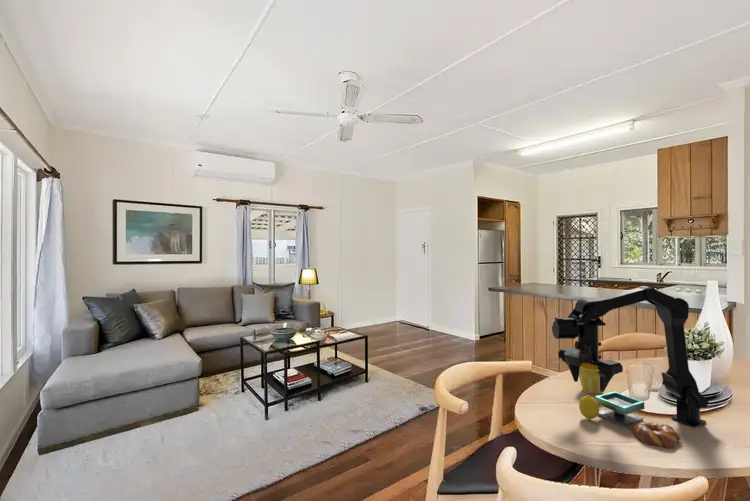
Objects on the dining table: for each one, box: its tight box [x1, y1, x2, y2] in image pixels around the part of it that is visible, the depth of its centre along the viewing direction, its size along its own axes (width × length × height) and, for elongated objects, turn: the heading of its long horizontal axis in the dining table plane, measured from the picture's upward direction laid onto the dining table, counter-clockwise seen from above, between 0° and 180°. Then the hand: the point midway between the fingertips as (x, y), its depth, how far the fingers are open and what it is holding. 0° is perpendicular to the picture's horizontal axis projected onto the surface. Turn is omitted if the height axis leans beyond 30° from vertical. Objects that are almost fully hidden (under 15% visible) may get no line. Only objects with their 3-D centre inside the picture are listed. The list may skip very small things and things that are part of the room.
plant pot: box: [578, 363, 603, 395], centre depth 140 cm, size 10×10×10 cm
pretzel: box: [632, 421, 681, 449], centre depth 106 cm, size 12×11×4 cm
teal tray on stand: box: [594, 391, 645, 428], centre depth 118 cm, size 10×10×6 cm
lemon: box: [578, 394, 600, 421], centre depth 118 cm, size 6×6×8 cm
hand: (588, 386), depth 118 cm, fingers open, 9 cm apart
